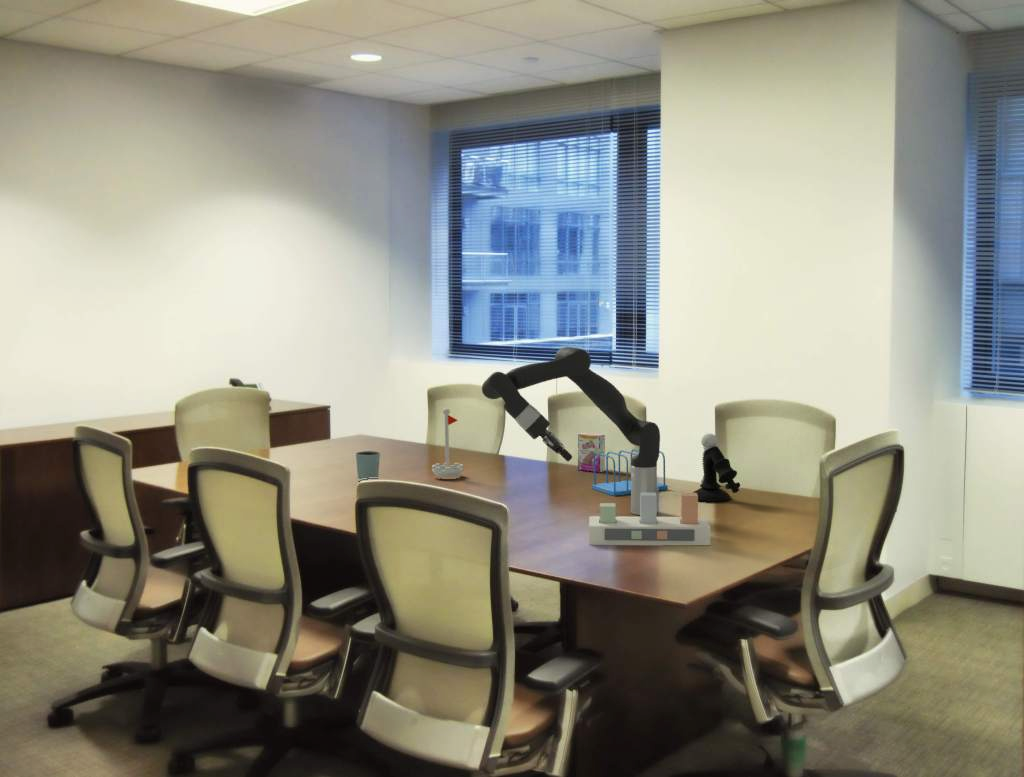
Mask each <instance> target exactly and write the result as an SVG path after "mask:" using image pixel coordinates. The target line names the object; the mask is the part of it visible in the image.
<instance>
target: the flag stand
mask: <svg viewBox="0 0 1024 777" xmlns="http://www.w3.org/2000/svg"><path fill="white" fill-rule="evenodd" d="M450 412H451V410H450V409H449V408H448V407H445V408H443V410H442V414H444V439H445V440H444V444H445V445H444V446H445V447H444V448H445V449H444V450H445V451H444V452H445V453H444V454H445V462H443V464H442V465H441V463H434V464H432V466H431V470H432V472H433V473H434V476H435V475H436V476H439V477H458V476H460V477H461V473H462V472H463V468H464V466H463V464H462V463H461V464H460V463H459V462H454V463H453V465H452V464H451V462H450V444H449V443H450V442H449V441H450V438H449V436H450V435H449V432H450V431H449V429H450V428H449V426H450V425H451V424H453V423H456V422H458V421H459V420H458V419H457V418H455V417H452V416H451V415H450Z"/></svg>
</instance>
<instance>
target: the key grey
mask: <svg viewBox="0 0 1024 777" xmlns="http://www.w3.org/2000/svg"><path fill="white" fill-rule="evenodd" d="M657 514H658V512H657V495H656V493H646V492H640V515H639V517H640V524H657V517H658V516H657Z"/></svg>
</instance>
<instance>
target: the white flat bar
mask: <svg viewBox="0 0 1024 777" xmlns="http://www.w3.org/2000/svg"><path fill="white" fill-rule="evenodd" d="M588 519H589V520H588V521H589V522H588V545H589V546H590V545H591V546H594V545H595V546H662V545H710V546H711V526H710V523H709V521H708V518H707V516H698V524H681V516H657V524H640V516H622V515H620V516H616V523H600V515H594V516H591V515H589V518H588Z"/></svg>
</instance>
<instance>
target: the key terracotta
mask: <svg viewBox="0 0 1024 777" xmlns="http://www.w3.org/2000/svg"><path fill="white" fill-rule="evenodd" d="M680 517H681V524H698V517H699V502H698V495H697V493H693V492H681V493H680Z"/></svg>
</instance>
